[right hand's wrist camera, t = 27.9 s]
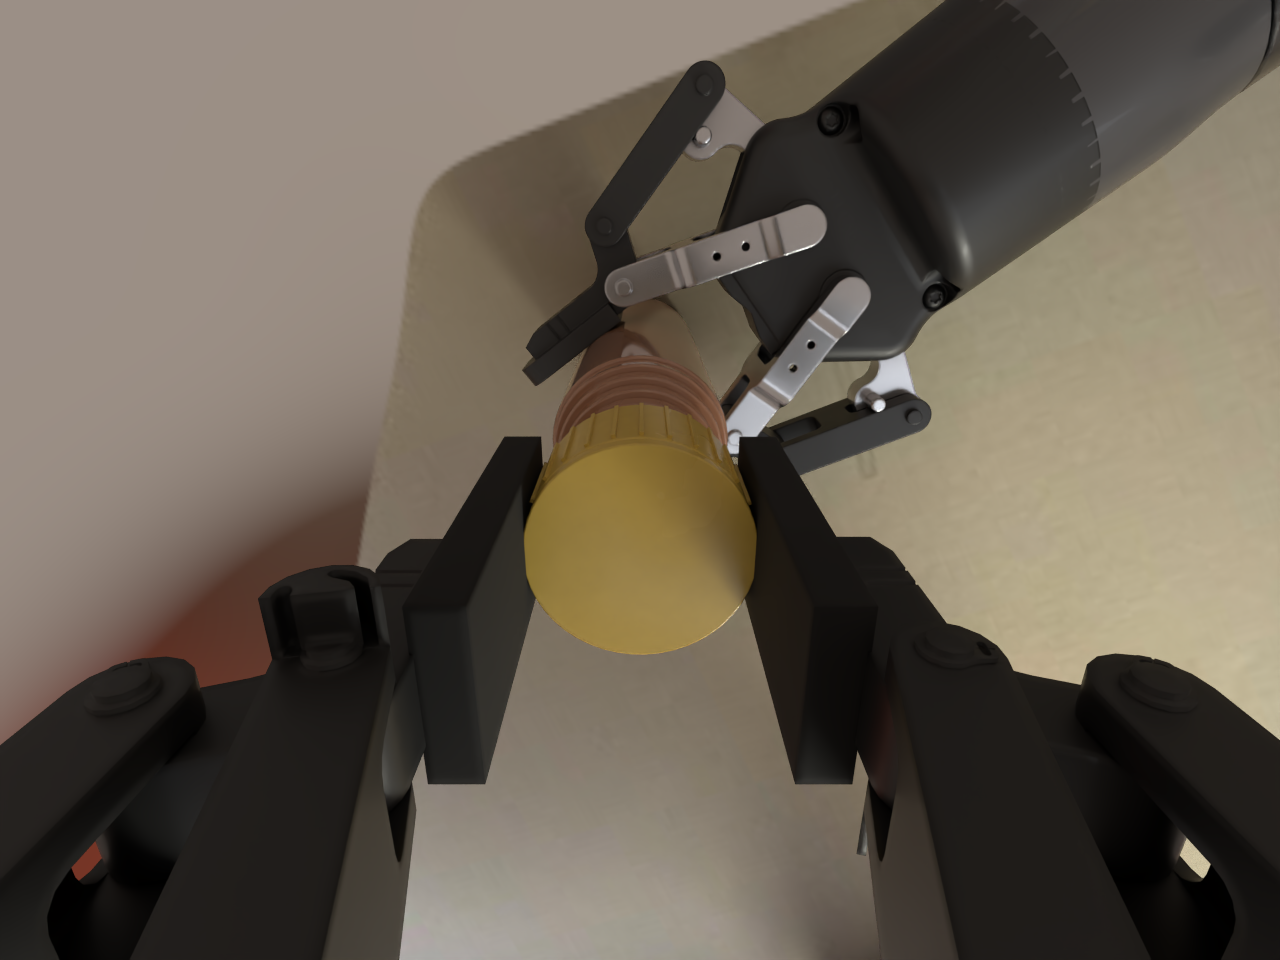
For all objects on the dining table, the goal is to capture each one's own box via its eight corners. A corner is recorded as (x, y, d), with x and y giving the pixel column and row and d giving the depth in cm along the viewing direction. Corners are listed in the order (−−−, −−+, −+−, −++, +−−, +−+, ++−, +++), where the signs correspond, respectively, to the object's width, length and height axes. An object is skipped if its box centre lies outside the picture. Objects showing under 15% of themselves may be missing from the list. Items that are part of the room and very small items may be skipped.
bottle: (681, 410, 31) (732, 654, 14) (580, 392, 31) (505, 621, 14) (702, 307, 29) (790, 441, 12) (596, 288, 29) (532, 397, 12)
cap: (778, 527, 15) (805, 588, 12) (611, 619, 16) (606, 693, 13) (673, 360, 13) (680, 392, 11) (497, 470, 14) (469, 523, 12)
